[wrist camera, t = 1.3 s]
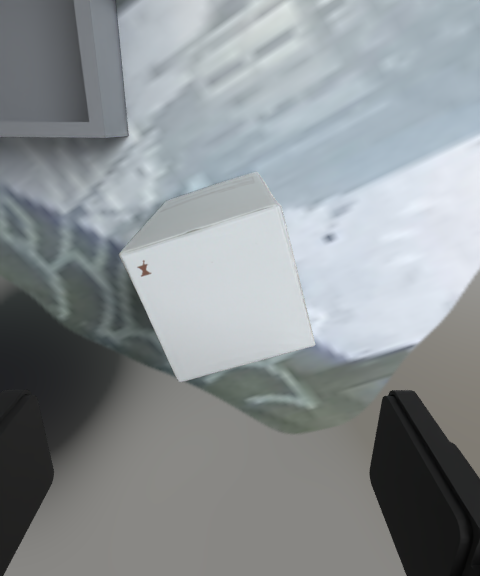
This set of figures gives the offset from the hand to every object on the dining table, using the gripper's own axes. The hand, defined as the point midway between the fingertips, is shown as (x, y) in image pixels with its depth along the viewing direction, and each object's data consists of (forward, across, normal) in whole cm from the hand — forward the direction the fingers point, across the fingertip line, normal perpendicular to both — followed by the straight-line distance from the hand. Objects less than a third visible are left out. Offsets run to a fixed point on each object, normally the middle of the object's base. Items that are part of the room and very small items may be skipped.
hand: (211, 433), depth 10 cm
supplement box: (+20, 0, -1) cm, 20 cm away
